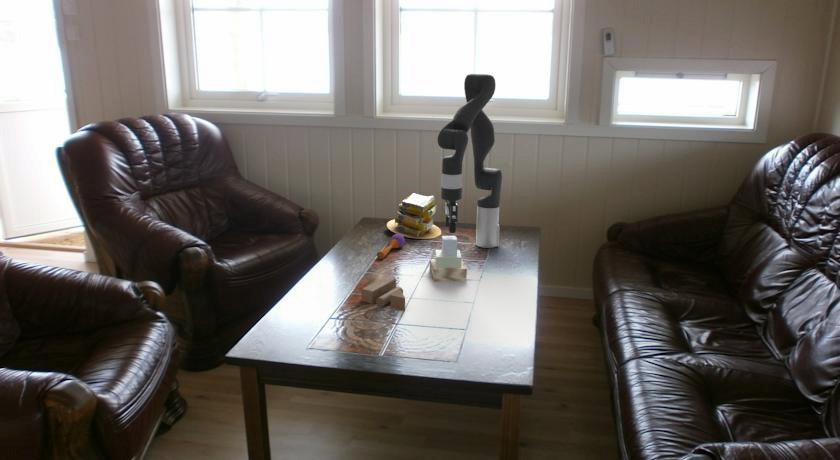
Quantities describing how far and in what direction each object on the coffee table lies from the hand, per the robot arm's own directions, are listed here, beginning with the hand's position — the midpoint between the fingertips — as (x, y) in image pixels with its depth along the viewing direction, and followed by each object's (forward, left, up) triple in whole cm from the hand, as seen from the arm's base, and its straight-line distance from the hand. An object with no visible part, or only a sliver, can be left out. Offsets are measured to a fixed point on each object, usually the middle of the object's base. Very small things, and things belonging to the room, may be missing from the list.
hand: (450, 229), depth 239 cm
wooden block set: (+22, +21, -18) cm, 35 cm away
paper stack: (+7, -59, -18) cm, 62 cm away
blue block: (0, 0, -9) cm, 9 cm away
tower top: (+1, 0, -13) cm, 13 cm away
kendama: (+20, -30, -18) cm, 40 cm away
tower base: (+1, 0, -18) cm, 18 cm away
